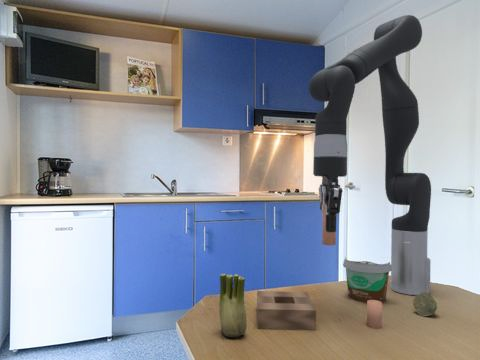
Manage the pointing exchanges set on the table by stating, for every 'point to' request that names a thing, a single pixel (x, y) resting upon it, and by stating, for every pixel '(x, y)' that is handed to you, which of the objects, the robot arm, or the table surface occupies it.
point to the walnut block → (285, 310)
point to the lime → (425, 304)
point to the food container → (367, 280)
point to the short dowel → (374, 314)
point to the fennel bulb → (232, 305)
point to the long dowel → (327, 237)
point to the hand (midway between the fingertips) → (329, 230)
